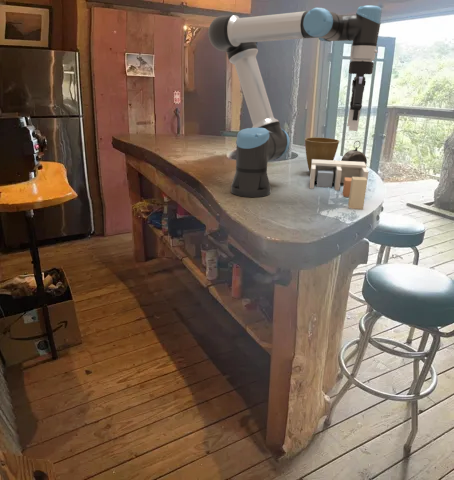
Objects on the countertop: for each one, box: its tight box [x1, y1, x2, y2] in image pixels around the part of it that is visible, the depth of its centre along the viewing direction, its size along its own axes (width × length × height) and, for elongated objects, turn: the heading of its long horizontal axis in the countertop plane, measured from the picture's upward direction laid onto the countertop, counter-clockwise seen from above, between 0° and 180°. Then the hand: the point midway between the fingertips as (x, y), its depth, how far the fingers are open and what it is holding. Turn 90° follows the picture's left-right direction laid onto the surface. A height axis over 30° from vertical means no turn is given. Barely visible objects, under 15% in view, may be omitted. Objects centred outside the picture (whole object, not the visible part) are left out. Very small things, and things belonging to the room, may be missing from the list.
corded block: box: [342, 177, 368, 210], centre depth 144 cm, size 6×21×10 cm, turn 169°
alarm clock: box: [340, 140, 368, 165], centre depth 178 cm, size 11×5×16 cm, turn 104°
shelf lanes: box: [309, 159, 369, 191], centre depth 165 cm, size 22×16×9 cm
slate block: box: [316, 170, 333, 188], centre depth 165 cm, size 6×6×6 cm
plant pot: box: [304, 136, 340, 174], centre depth 182 cm, size 15×15×16 cm
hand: (351, 128), depth 138 cm, fingers open, 13 cm apart
